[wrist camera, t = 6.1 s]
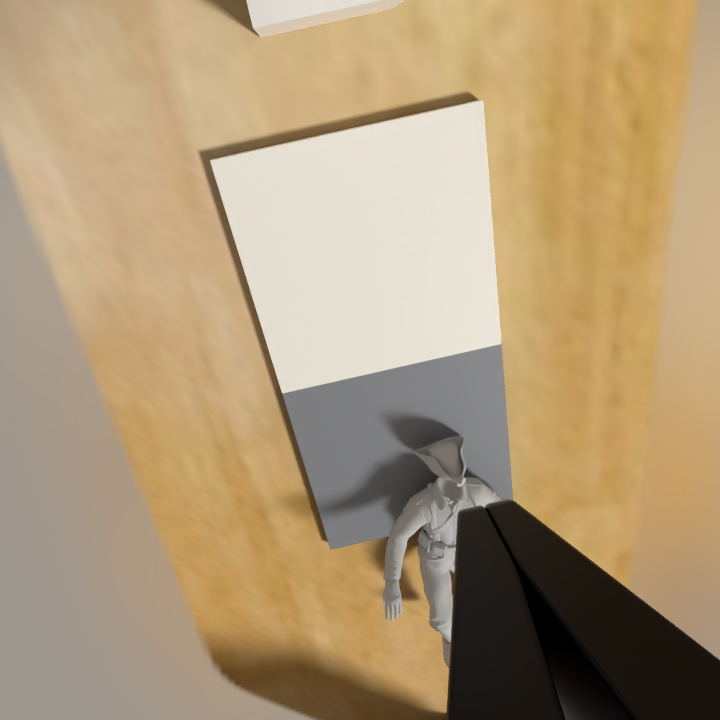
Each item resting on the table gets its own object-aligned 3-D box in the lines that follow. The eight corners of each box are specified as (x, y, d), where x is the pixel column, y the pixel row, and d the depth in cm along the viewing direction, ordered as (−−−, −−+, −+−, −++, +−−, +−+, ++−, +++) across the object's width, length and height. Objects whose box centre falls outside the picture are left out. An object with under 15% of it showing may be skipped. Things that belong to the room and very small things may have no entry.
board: (510, 501, 26) (513, 507, 26) (330, 543, 26) (330, 549, 26) (479, 99, 18) (483, 100, 18) (211, 159, 18) (209, 160, 17)
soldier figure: (396, 698, 26) (386, 555, 19) (364, 605, 30) (346, 455, 22) (540, 643, 27) (584, 490, 20) (493, 561, 31) (516, 407, 24)
